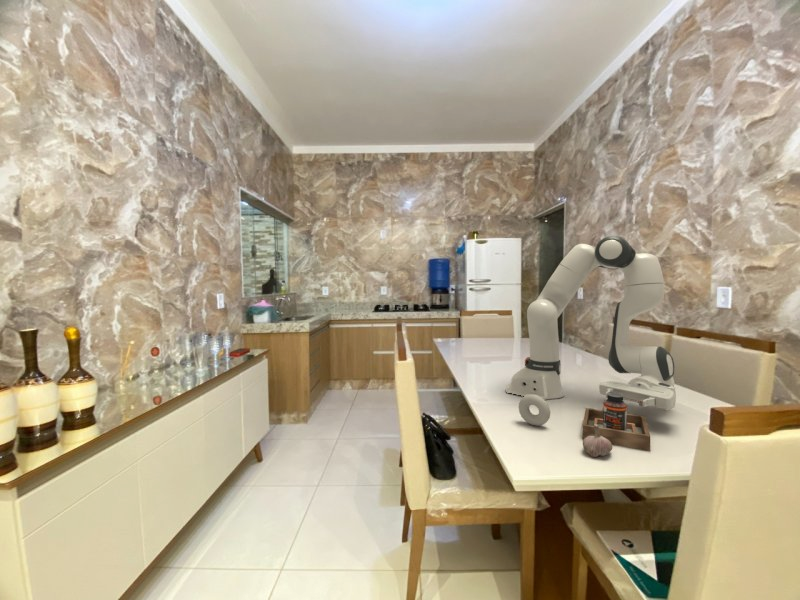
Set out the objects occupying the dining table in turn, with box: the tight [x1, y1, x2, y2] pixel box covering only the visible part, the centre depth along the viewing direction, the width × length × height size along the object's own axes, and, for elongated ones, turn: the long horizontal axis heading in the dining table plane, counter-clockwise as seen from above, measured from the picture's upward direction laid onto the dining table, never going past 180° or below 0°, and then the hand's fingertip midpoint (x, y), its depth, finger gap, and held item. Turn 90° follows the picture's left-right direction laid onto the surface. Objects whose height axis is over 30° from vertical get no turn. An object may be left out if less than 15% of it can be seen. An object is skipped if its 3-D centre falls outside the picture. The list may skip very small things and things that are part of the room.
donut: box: [518, 394, 551, 427], centre depth 111 cm, size 10×4×10 cm, turn 48°
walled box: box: [582, 407, 651, 452], centre depth 103 cm, size 16×16×4 cm
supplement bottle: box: [602, 393, 628, 431], centre depth 103 cm, size 6×6×11 cm
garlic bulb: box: [582, 424, 613, 458], centre depth 92 cm, size 8×7×8 cm
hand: (624, 399), depth 107 cm, fingers open, 8 cm apart
